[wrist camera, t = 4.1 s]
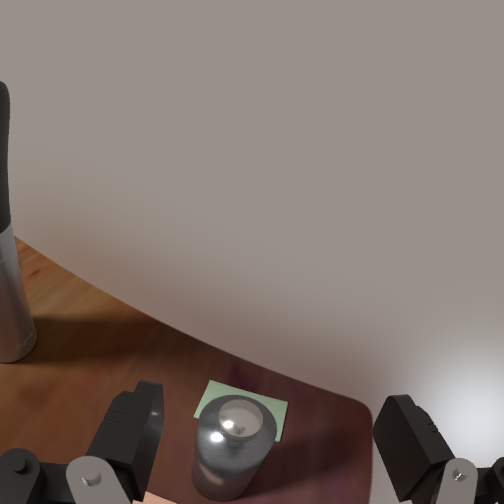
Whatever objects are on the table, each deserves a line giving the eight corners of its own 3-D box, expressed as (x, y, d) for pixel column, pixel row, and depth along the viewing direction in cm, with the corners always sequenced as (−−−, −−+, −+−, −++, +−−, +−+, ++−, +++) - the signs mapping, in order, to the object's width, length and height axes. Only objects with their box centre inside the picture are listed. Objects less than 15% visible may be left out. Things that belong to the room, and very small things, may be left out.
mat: (193, 417, 31) (193, 416, 31) (210, 380, 36) (210, 379, 36) (279, 442, 30) (279, 441, 30) (287, 402, 35) (287, 402, 35)
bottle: (184, 491, 23) (187, 435, 17) (201, 449, 28) (213, 376, 22) (240, 507, 22) (274, 461, 16) (252, 464, 27) (286, 397, 21)
